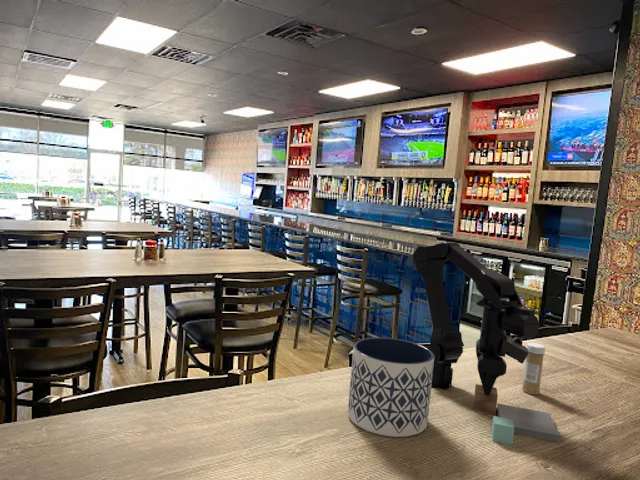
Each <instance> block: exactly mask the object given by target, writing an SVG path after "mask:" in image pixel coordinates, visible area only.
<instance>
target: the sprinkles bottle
mask: <svg viewBox="0 0 640 480" xmlns="http://www.w3.org/2000/svg"><path fill="white" fill-rule="evenodd" d="M526 348H527V349H528V351H529V354H528V356H527V357H526V359H525V362H524V363H525V364H524V365H525V366H524V372H523V381H522V382H523V383H522V388H521V390H522V391H523V392H525V393H526V394H528V395H539V394H540V390H541V389H540V386H541V381H542V373H543V372H542V371H543V364H544V363H543V362H544V355H545V353H546V346H545V345H543V344H540V343H536V342H528V343H526Z"/></svg>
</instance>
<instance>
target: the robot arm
mask: <svg viewBox="0 0 640 480" xmlns="http://www.w3.org/2000/svg"><path fill="white" fill-rule="evenodd" d="M412 258H413V261H414V265H415V268H416V271H418V273H419V274H420V276H421V277H422V278H423V282H424V287H425V292H426V297H427V301H428V302H427V303H428V307H429V308H428V309H429V313H430V318H431V323H432V331H431V335H430V337H429V345H430V346H429V348H428V347H427V348H428V349H429V350H431V351H432V352H433V354H434V366H433V376H432V385H431V388H432V387H433V388H434V387H435V388H438V389H444V390H450V386H452V382H453V375H454V374H453V373H454V368H453V367H452V364H457V363H458V361H459V359H460V357H461V356H462V354H463V353H464V347H465V344H464V341H463V338H462V335H463V334H462V332H461V331H460V330H457V331H456V330H455V328H454V327H453V326H452V322H451V318H450V312H449V308H448V304H447V303H448V302H447V297H446V293H445V288H444V282H443V279H442V278H443V277H442V274H443V271H444V268H445V261H448V260H449V261H450V262H451V263H452V264H453V265H455V266H456V267H457V268H458V269H459V270H460V271H462V272H463V273H464V274H465V275H466V276H467V277H468V278H470V279H471V280H472V281H473V282H474V283H475V287H476V289H477V291H478V292H479V294H480V295H482V297H483V298H482V299H480V300H479V301H477V302H476V306H479V307H482V308H483V311H482V319H481V327H480V328H479V329H480V330H479V331H480V333H479V334H480V336H479V339H478V340H476V343H475V353H476V355H475V356H476V358H477V363H476V364H477V372H478V375H479V378H480V382H481V385H482V386H483V390H484V394H485V395H487V396H489V395H490V393H491V391H492V388H493V387H494V386H495V383H496V380H497V379H498V378H500V377H501V376H502V377H503V376H504V375H506V374H507V368H508V366H507V362H506V360H505V359H504V358H505V357H506V356H508V357H509V358H512V359H514V360H515V361H517V362H518V363H520V364H524V363H525V362H526V357H527V356H528V354H529V351H528V349H527V346H525V345H523V340H522V339H521V338H523V339H525V340H529V341H530V340H532V339H534V338H536V336H537V334H538V333H539V329H540V323H539V319H538V317H537V316H536V310H535V309H532V308H525V307H524V305H523V303H522V301H521V298H520V296H519V295H518V292H517V290H516V288H515V282H514V281H513V279H512V278H511V277H508V276H506V275H505V274H502V273H500V272H498V271H495V270H492V269H491V268H488V267H487V266H485V265H484V264H483V263H481V262H480V260H478V259H477V258H475V257H474V256H473V255H472V254H470V253H469V252H468V251H466V250H465V248H463V247H462V246H461V245H460V244H459V243H458V242H455V241H443V242H442V243H441V242H440V243H437V244H434V245H429V246H428V245H420V246H417V247H416V248H415V250H414V252H413V253H412ZM507 333H508V334H511V335H513V336H515V337H513V338H508V335H507Z"/></svg>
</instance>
